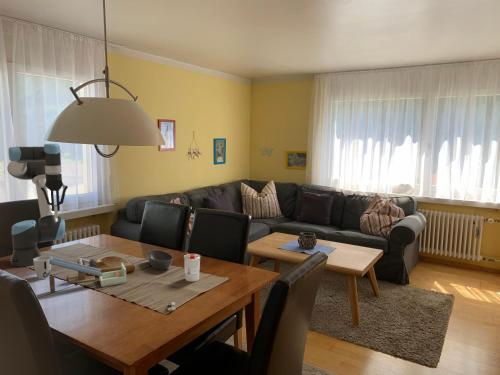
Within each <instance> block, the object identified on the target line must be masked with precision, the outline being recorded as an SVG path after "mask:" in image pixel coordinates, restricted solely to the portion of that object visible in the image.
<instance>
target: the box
mask: <svg viewBox="0 0 500 375" xmlns="http://www.w3.org/2000/svg"><path fill="white" fill-rule="evenodd" d="M120 265H121V266H120V267H121V268H120V269H119V270H114V271H113V270H112V271H106V272H102V275H101V277H100V276H98V280H99V283H100V286H101V288H105V287H111V286H115V285H116V286H117V285H121V284H126V283H127V268H126V266H125V265H124V263H123V262H121V263H120ZM116 273H121V275H122V276H120V277H115V274H116Z"/></svg>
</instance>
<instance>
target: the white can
mask: <svg viewBox="0 0 500 375" xmlns="http://www.w3.org/2000/svg"><path fill="white" fill-rule="evenodd" d="M183 259H184V261H183V262H184V263H183V264H184V274H185V276H184V277H185V278H184V279H185V281H187V282H190V283H191V282H197V281H199V280H200V269H201V267H200V266H201V264H200V263H201V255H200V254H198V253H187V254H185V255H183Z"/></svg>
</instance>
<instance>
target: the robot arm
mask: <svg viewBox="0 0 500 375" xmlns="http://www.w3.org/2000/svg"><path fill="white" fill-rule="evenodd" d="M61 152H62V150H61V146H60V144H59V143H45V144H44V145H43V146H17V145H16V146H10V147H8V159H9V161H10V162H8V165H7V167H6V168H7V169H6V170H7V172H8V174H9V175H10V176H12V177H13V178H15V179H18V180H23V181H26V180H27V181H28V180H30V181H31V182H32V184H34V185H35V190H36V196H37V203H38V208H39V214H40V217H39V219H38V222H37V221H36V220H34V219H29V220H23V221H20V222H17V223H14V224H13V225H12V226H11V237H12V238H11V239H12V254H11V256H10V266H11V267H15V268H16V267H17V268H19V267H20V268H23V267H28V266H34V262H33V259H34V258H36V257H40V256H42V255H41V252H40V250H39V248H38V243H46V242H52V241H59V240H62V239H64V238H65V234H66V222H65V219H63V218H61V216H60V215H59V214H58V212H60V211H61V208H60V206H61V205H63V203H64V200H65V196H66V192H67V189H68V185H66V184H64V182H63V175H62V161H61V160H62V159H61V158H62V157H61V154H62V153H61ZM61 188H62V192H61V197H60V190H61ZM54 192H55V195H54ZM55 198H56V199H55ZM55 200H56V201H55Z"/></svg>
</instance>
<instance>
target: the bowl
mask: <svg viewBox="0 0 500 375" xmlns="http://www.w3.org/2000/svg"><path fill="white" fill-rule="evenodd" d="M145 255H146V258H147V261H148V262H149V264H150V265H151V267H152V268H154V269H157V270H161V271H164V270H165V271H166V270H168V269H169V268H170V267H171V265H172V263H173V260H174V255H172V254H171V253H170V252H168V251H164V250H160V249H151V250H148V251H147V252H146V253H145Z"/></svg>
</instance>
